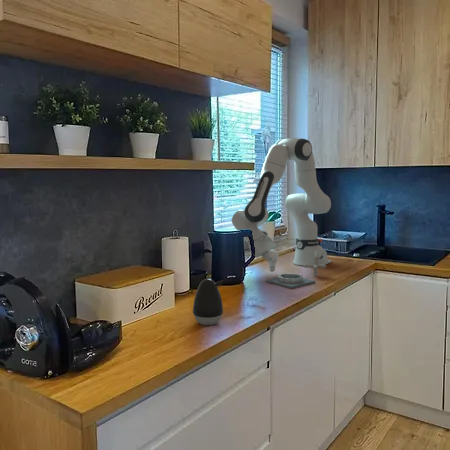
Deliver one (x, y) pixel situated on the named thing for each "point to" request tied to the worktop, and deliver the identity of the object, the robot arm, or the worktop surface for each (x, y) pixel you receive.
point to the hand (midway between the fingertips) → (273, 259)
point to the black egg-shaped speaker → (208, 303)
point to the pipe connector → (315, 265)
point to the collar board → (294, 285)
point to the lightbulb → (274, 257)
